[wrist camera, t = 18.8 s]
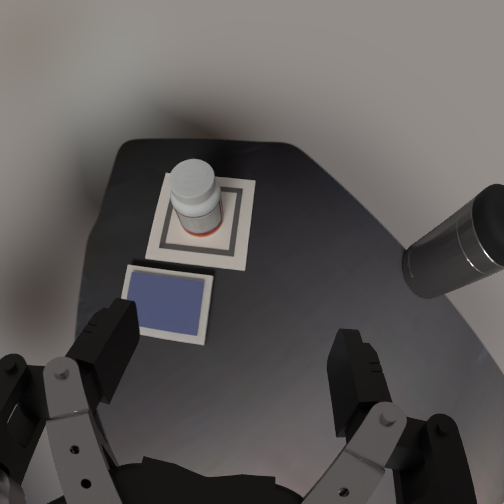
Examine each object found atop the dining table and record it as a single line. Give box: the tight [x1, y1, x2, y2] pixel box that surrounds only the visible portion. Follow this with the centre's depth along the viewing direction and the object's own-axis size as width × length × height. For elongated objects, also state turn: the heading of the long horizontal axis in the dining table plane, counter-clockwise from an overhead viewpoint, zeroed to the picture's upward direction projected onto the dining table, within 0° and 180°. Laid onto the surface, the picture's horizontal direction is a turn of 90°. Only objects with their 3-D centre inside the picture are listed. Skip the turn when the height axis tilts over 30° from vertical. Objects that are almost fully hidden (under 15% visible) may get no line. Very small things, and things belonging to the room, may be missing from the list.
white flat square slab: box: [145, 173, 255, 271], centre depth 43 cm, size 14×14×1 cm
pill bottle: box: [169, 159, 223, 238], centre depth 38 cm, size 6×6×11 cm
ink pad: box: [121, 265, 214, 345], centre depth 38 cm, size 12×9×2 cm
